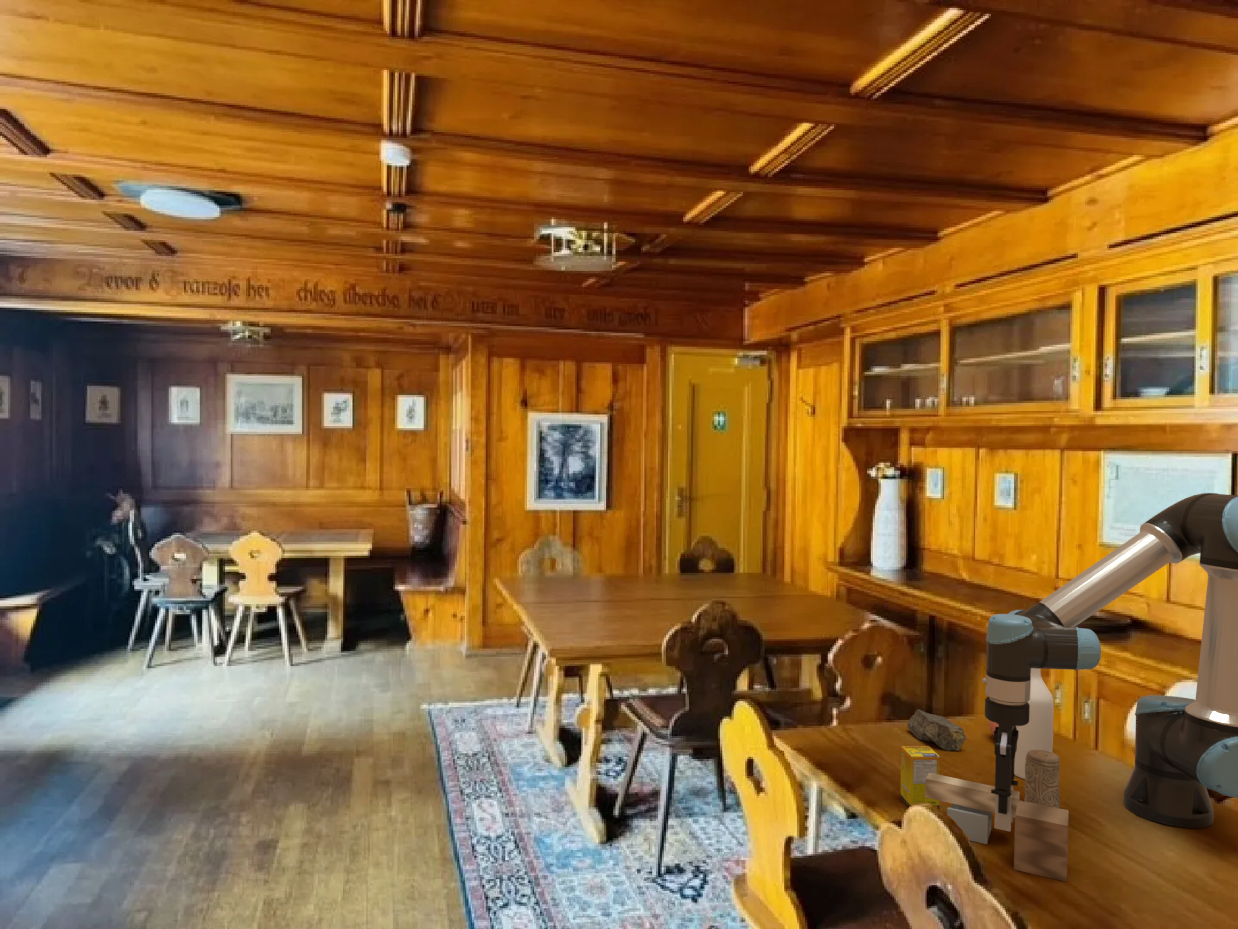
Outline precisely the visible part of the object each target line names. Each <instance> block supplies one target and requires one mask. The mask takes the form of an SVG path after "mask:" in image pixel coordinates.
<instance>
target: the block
mask: <svg viewBox="0 0 1238 929" xmlns="http://www.w3.org/2000/svg"><path fill="white" fill-rule="evenodd" d="M1069 812H1070V810H1068V809H1064V808H1060V807H1059V808H1055V807H1050V806H1045V805H1040V804H1035V803H1030V802H1025V800H1024V801H1023V800H1020V799H1019V800H1018V804H1017V809H1016V813H1015V818H1014V846H1013V847H1014V848H1013V849H1014V850H1013V851H1014V853H1013V870H1016V871H1020V872H1023V873H1028V874H1031V875H1036V876H1041V877H1045V878H1049V879H1052V880H1053V879H1054V880H1058V881H1061V882H1067V878H1068V877H1067V875H1068V855H1069V853H1068V852H1069V850H1068V849H1069V820H1070V819H1069V815H1070V814H1069Z"/></svg>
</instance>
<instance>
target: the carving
mask: <svg viewBox="0 0 1238 929" xmlns="http://www.w3.org/2000/svg"><path fill="white" fill-rule="evenodd" d="M1026 756H1027V757H1026V762H1025V779H1024V783H1025V784H1024V801H1025V802H1030V803H1035V804H1040V805H1045V806H1050V807H1055V808H1060V807H1061V802H1060V801H1061V798H1060V768H1061V767H1060V756H1059V755H1058V754H1057V753H1054V752H1053V751H1052V752H1048V751H1044V750H1030V751H1029V752H1028V753H1027V755H1026Z"/></svg>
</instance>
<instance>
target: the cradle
mask: <svg viewBox="0 0 1238 929" xmlns="http://www.w3.org/2000/svg"><path fill="white" fill-rule="evenodd" d="M946 811H947V812H946V816H947V815H948V816H950V817H951V818H952V819H953V820H954V821H955V822H957V825H958V826H959V827H960V828H961V829H962V830H963V832H964V834H966V835H967V836H968V837H969V840H968V841H970V840H971V842H975V843H978V844H979V843H980V844H984V845H988V844H989V840H990V835H991V831H992V814H993V813H992V812H988V811H983V810H979V809H974V808H970V807H966V806H961V805H957V804H953V803H951V807H949V806H948V807H947V809H946Z"/></svg>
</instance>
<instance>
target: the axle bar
mask: <svg viewBox="0 0 1238 929" xmlns="http://www.w3.org/2000/svg"><path fill="white" fill-rule="evenodd" d="M992 789H993V790H994V789H995V785H990V784H984V783H979V782H975V781H971V780H965V779H961V778H957V777H956V778H955V777H951V776H946V775H942V774H939V775H938V774H934V773H929V774H928V776H927V778H926V791H925V797H926V798H931V799H935V800H939V802H945V803H948V804H952V803H953V804H957V805H961V806H966V807H970V808H974V809H979V810H983V811H988V812H992V814H995V794H993V793H991V790H992ZM1011 795H1012V804H1011V817H1013V819H1015V813H1016V809H1017V804H1018V800H1020V795H1021V794H1020V791H1017V790H1014V791H1013V790H1011Z"/></svg>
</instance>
